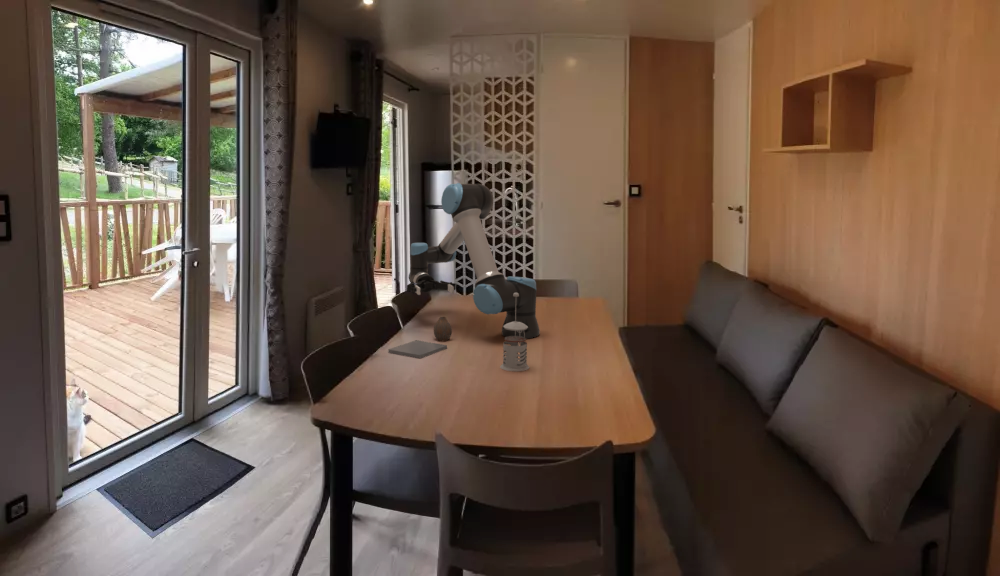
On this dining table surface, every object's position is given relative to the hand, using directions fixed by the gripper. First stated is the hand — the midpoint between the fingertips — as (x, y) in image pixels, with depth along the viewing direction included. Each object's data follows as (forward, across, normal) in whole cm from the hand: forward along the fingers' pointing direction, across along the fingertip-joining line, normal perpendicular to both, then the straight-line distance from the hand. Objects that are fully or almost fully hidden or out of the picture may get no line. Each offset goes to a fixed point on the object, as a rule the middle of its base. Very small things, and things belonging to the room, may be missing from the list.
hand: (436, 290), depth 254 cm
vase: (+10, 0, -18) cm, 20 cm away
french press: (+52, -14, -17) cm, 56 cm away
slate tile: (+23, +12, -17) cm, 31 cm away
